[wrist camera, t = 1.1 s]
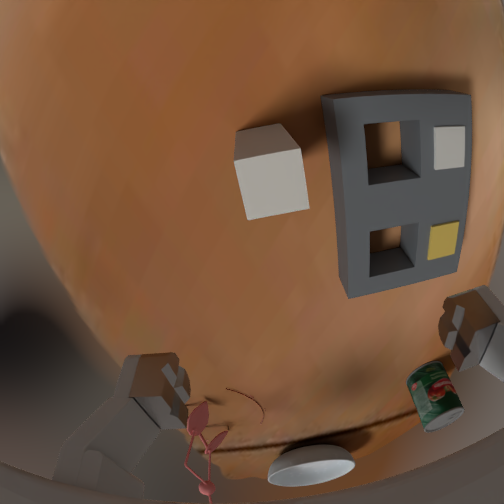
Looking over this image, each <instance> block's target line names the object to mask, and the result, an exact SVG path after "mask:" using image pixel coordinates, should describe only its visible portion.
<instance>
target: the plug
mask: <svg viewBox="0 0 504 504" xmlns="http://www.w3.org/2000/svg"><path fill="white" fill-rule="evenodd" d="M234 165H235V169H236V173H237V177H238V182H239V186H240V190H241V194H242V198H243V203H244V207H245V211H246V216H247V220H252V219H257V218H262V217H267V216H272V215H278V214H283V213H288V212H294V211H299V210H304V209H309V202H308V195H307V187H306V180H305V174H304V167H303V160H302V154H301V148H300V147H299V146H298V144H297V143H296V142H295V141H294V139H293V138H292V137H291V136H290V134H289V133H288V132H287V131H286V130H285V128H284V127H283V126H282V125H281V124H280V123H279V124H273V125H268V126H262V127H257V128H252V129H247V130H242V131H237V132H236V137H235V150H234Z"/></svg>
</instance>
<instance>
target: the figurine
mask: <svg viewBox="0 0 504 504" xmlns="http://www.w3.org/2000/svg"><path fill="white" fill-rule="evenodd" d="M226 389H227V388H226ZM227 390H230V389H227ZM231 391H234V390H231ZM235 392H237V391H235ZM237 393H239V392H237ZM240 394H242V393H240ZM243 395H244V394H243ZM245 396H246V395H245ZM249 396H250V395H249ZM247 397H248V396H247ZM251 397H252V396H251ZM249 398H250V397H249ZM253 398H254V397H253ZM251 399H252V398H251ZM252 400H253V399H252ZM255 402H256V401H255ZM256 403H257V402H256ZM257 404H258V403H257ZM258 405H259V404H258ZM259 406H260V405H259ZM260 407H261V406H260ZM261 409H262V408H261ZM262 411H263V410H262ZM265 411H266V410H265ZM263 417H264V416H263ZM208 418H209V412H208V405H207V401H205V402H203V403H202V404H200V405H199V406H198V407H197V408H195V409H194V410H193V412H192V413H191V414H190V416H189V417H188V419H187V422H188V425H187V431H188V432H189V434H190V435H192V438H191V442H190V446H189V449H188V453H187V457H186V460H185V463H184V464H185V467H187V469H189V470H190V471H191V472H192V473H193V474H194V475H195V476H196V477H197V478H199V479H200V480H201V481H202V482H201V483H200V484H199V490H200V492H201V493H202V494H204V495H209V501H210V503H212V499H211V494H213V492H214V491H215V485H214V484H213V483H212V482H210V466H211V465H210V464H211V452H212V451H214V450H215V449H216V448H217V447H218V446H219V444H220V443H221V442H222V441H223V439H224V438H225V436H226V434H227V433H228V431H224V432H222V433H220V434H219V435H217V436H216V437H215V438H214V439H213V440H212V441H211V442H210V444H209V445H207V443H206V440H205V439H204V438H203V436H202V434H201V432H202V431H203V430H204V428H205V427H206V425H207V423H208ZM262 421H263V420H262ZM261 423H262V422H261ZM196 435H199V436H200V438H201V441H203V443H204V445H205V447H206V450H205V454H209V474H208V481H204V480H203V479H202V478H201V477H199V476H198V475H197V474H196V473H195V472H194V471H193V470H191V469H190V468H189V467H188V466H187V461H188V457H189V454H190V450H191V447H192V443H193V439H194V436H196Z"/></svg>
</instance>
